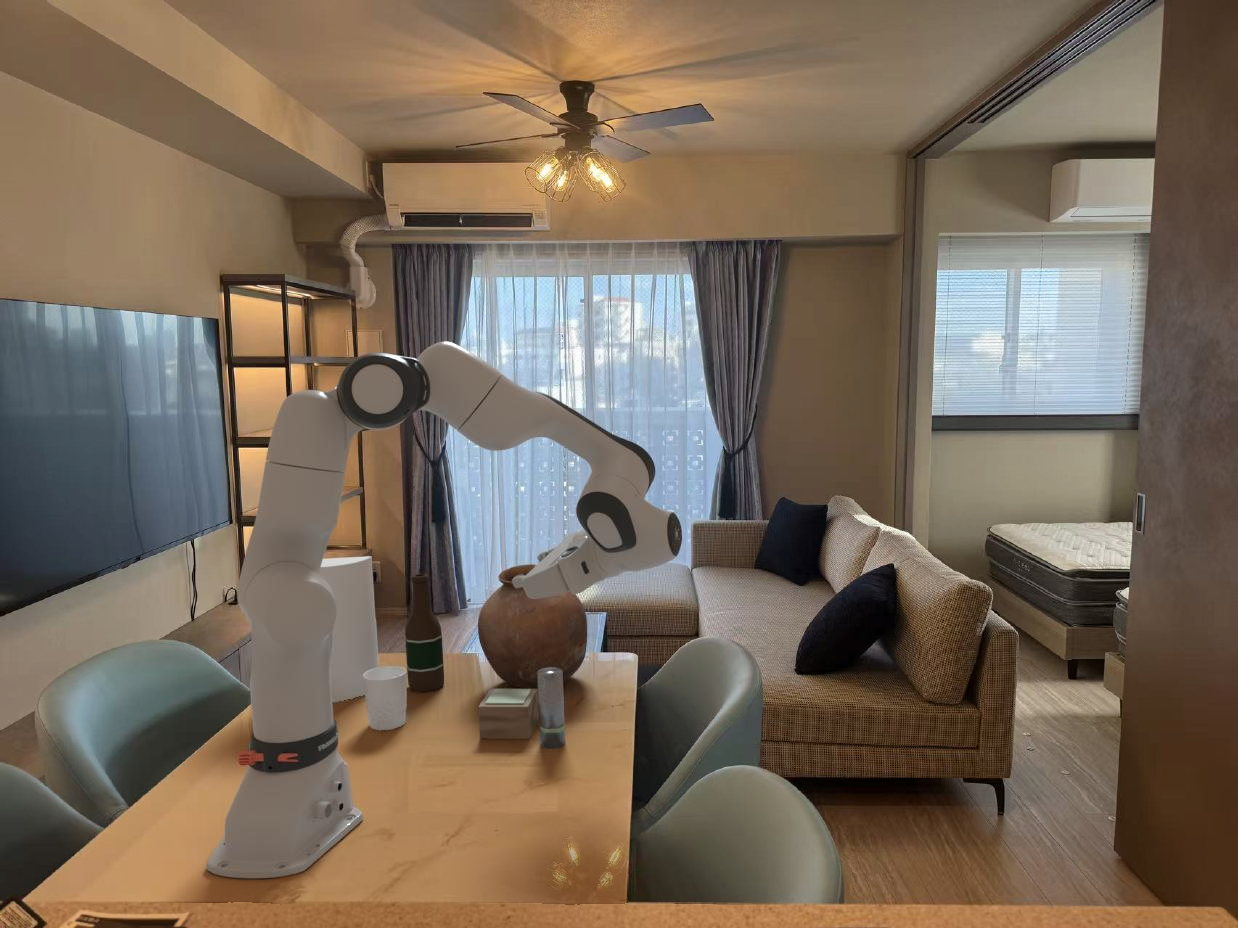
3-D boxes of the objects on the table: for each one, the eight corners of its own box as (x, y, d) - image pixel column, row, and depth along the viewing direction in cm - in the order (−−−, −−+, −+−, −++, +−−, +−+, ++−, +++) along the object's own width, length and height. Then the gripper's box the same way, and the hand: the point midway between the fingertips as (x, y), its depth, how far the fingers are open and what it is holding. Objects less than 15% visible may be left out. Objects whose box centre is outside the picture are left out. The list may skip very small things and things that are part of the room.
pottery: (597, 666, 194) (593, 555, 192) (577, 704, 172) (572, 580, 169) (498, 664, 198) (493, 555, 195) (465, 702, 175) (459, 579, 172)
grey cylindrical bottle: (563, 748, 151) (560, 675, 150) (537, 748, 152) (534, 675, 151) (567, 737, 156) (564, 667, 155) (542, 737, 156) (539, 667, 155)
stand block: (529, 739, 156) (527, 705, 155) (480, 738, 157) (478, 704, 156) (538, 719, 165) (537, 687, 164) (492, 719, 166) (490, 686, 165)
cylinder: (373, 699, 178) (364, 564, 175) (285, 706, 176) (275, 569, 173) (385, 671, 195) (377, 548, 193) (305, 677, 193) (296, 552, 191)
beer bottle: (440, 692, 181) (434, 578, 179) (403, 693, 181) (396, 579, 179) (448, 679, 189) (442, 570, 186) (412, 680, 189) (406, 571, 186)
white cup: (415, 716, 169) (412, 665, 168) (400, 732, 161) (397, 679, 160) (375, 715, 170) (372, 665, 169) (359, 732, 162) (356, 679, 161)
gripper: (610, 513, 155) (547, 530, 161) (560, 562, 137) (491, 579, 143) (624, 545, 156) (560, 561, 162) (575, 598, 138) (506, 613, 145)
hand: (527, 570), depth 153 cm, fingers open, 8 cm apart
